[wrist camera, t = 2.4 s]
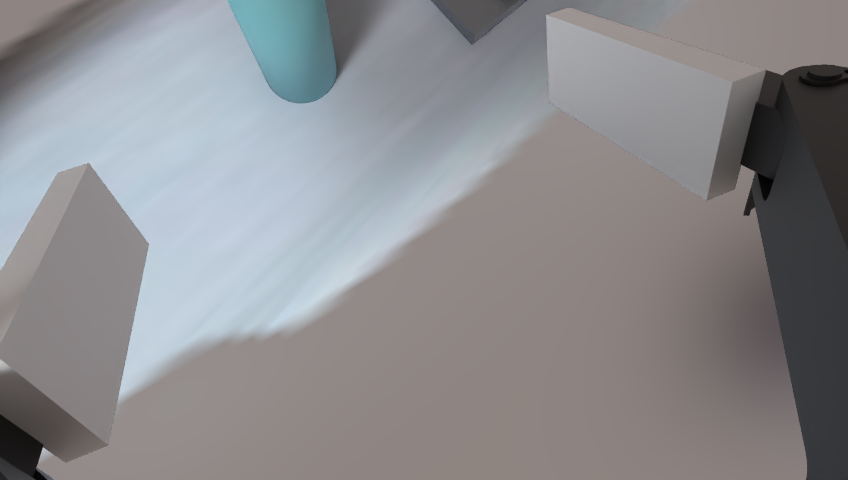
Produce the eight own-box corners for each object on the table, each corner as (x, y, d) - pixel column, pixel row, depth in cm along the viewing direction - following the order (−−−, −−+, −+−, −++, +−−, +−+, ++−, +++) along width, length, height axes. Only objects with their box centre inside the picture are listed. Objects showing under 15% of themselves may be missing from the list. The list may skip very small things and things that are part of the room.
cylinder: (270, 108, 29) (197, -29, 17) (259, 41, 30) (180, -136, 18) (342, 97, 30) (319, -44, 18) (329, 31, 30) (299, -147, 18)
